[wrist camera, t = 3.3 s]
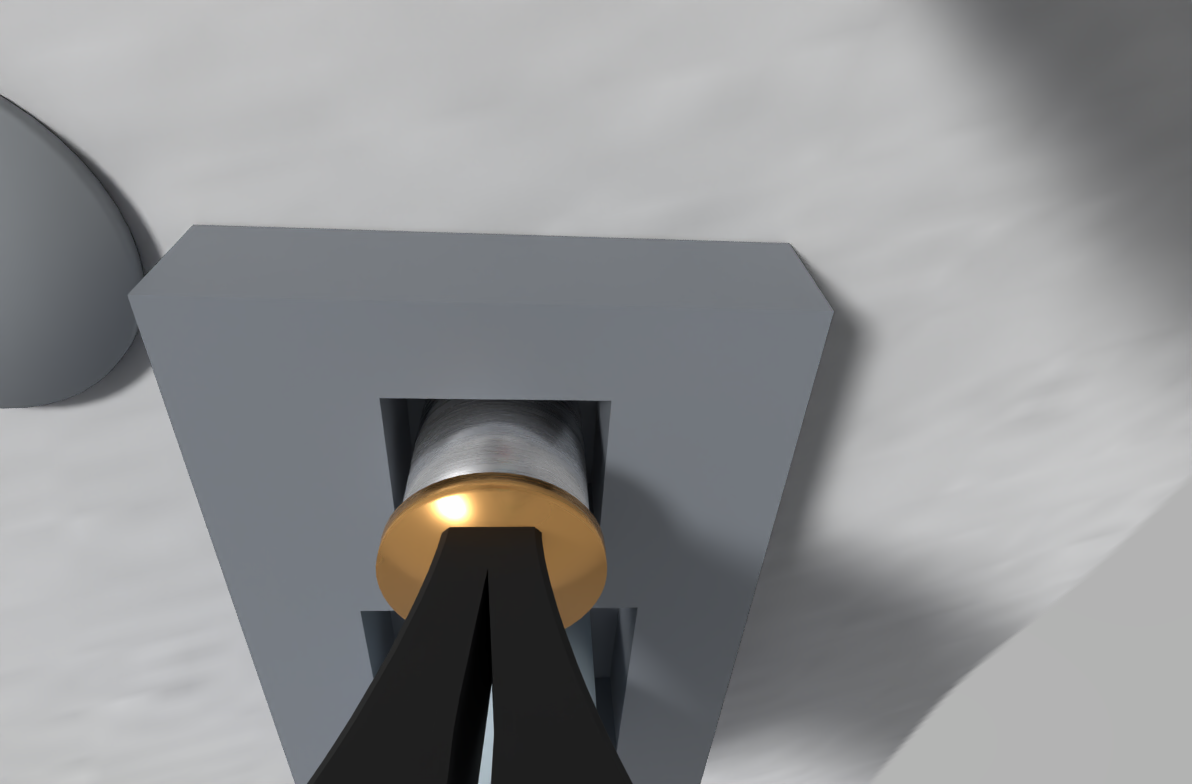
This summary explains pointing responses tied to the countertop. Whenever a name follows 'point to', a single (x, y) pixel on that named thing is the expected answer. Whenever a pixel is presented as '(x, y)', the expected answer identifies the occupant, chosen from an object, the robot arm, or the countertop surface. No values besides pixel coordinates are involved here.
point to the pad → (58, 269)
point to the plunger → (497, 494)
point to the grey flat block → (486, 371)
